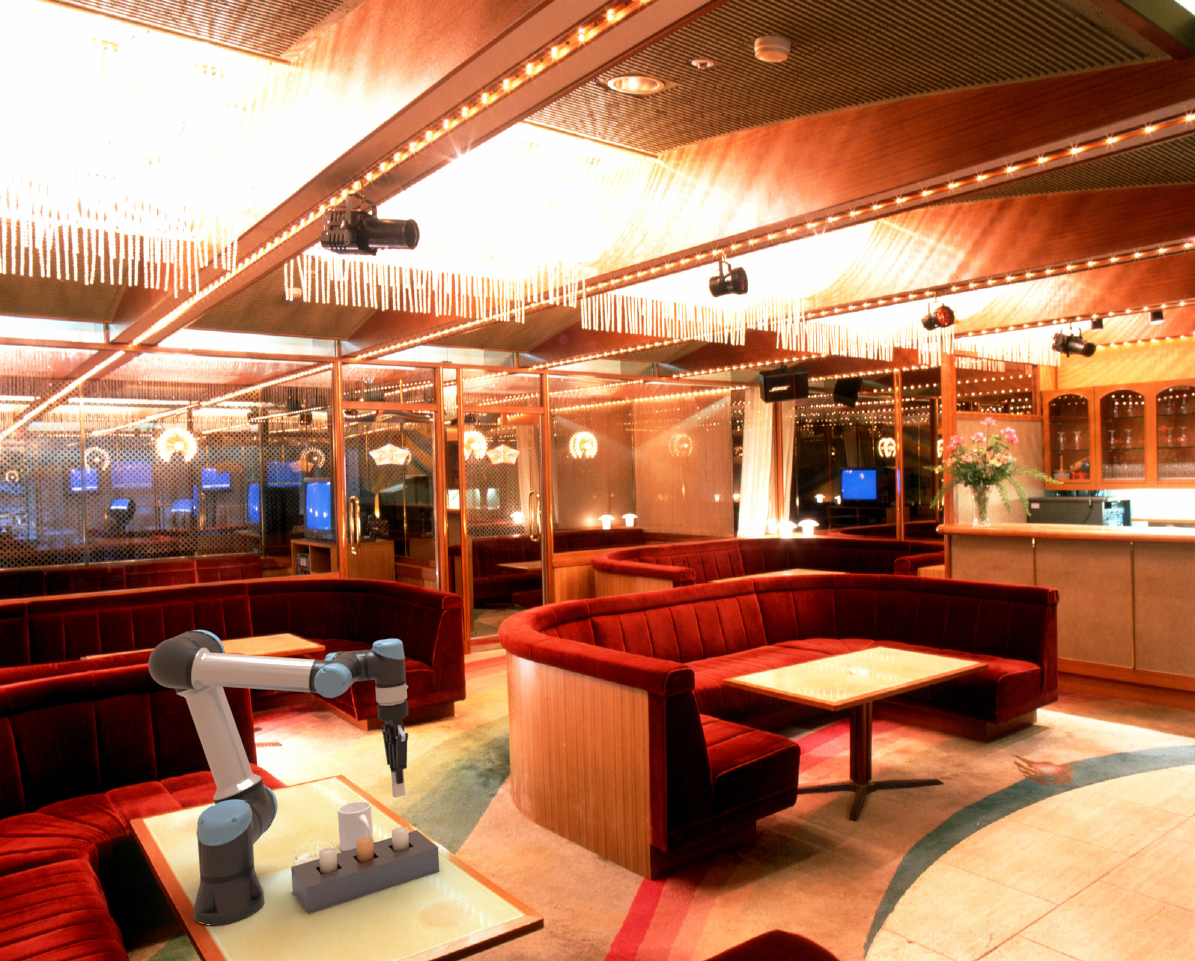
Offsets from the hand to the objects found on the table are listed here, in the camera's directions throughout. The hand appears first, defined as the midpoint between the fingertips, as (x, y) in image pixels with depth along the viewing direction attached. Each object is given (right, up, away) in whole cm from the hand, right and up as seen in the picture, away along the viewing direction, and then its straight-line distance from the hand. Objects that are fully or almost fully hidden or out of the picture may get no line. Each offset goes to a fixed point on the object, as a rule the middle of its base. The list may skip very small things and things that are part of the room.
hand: (399, 795), depth 213 cm
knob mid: (-7, -14, -5) cm, 17 cm away
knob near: (-14, -15, -10) cm, 23 cm away
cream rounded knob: (+1, -14, 0) cm, 14 cm away
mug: (-14, -20, +15) cm, 29 cm away
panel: (-7, -19, -5) cm, 21 cm away
